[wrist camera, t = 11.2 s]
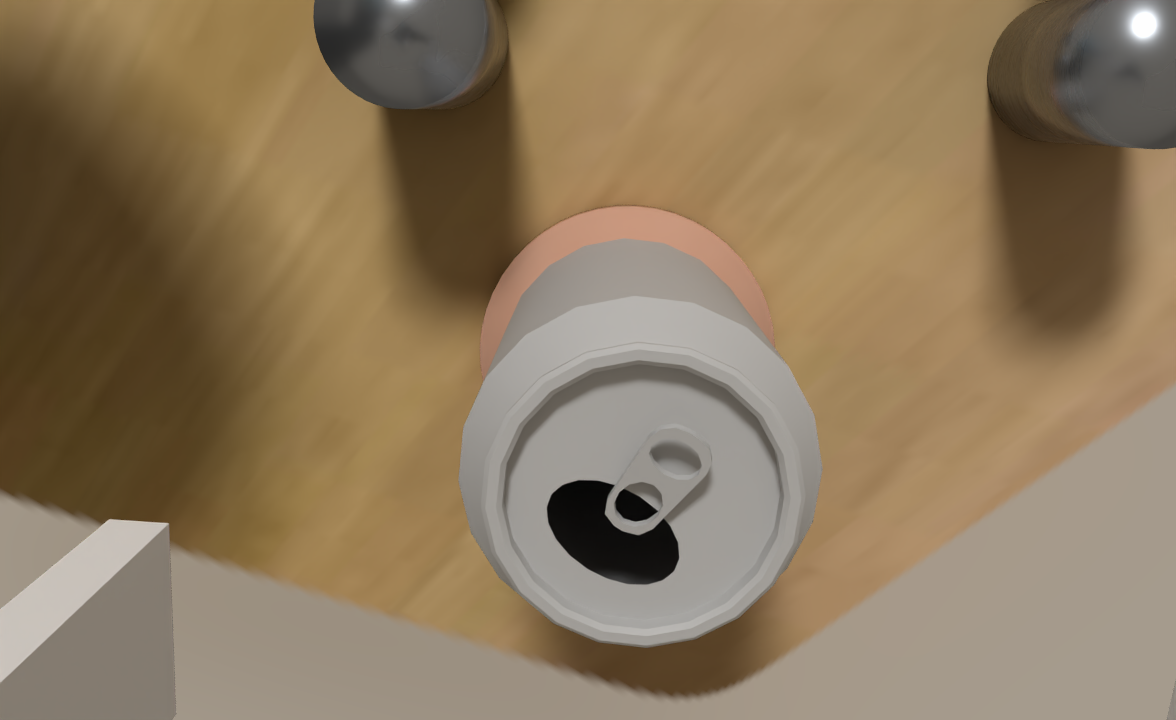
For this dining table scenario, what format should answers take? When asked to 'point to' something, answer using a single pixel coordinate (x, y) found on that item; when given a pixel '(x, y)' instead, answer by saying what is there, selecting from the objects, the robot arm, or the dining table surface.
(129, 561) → the robot arm
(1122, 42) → the chrome peg cluster
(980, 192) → the dining table surface
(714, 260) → the pink flat disc
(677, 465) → the can
